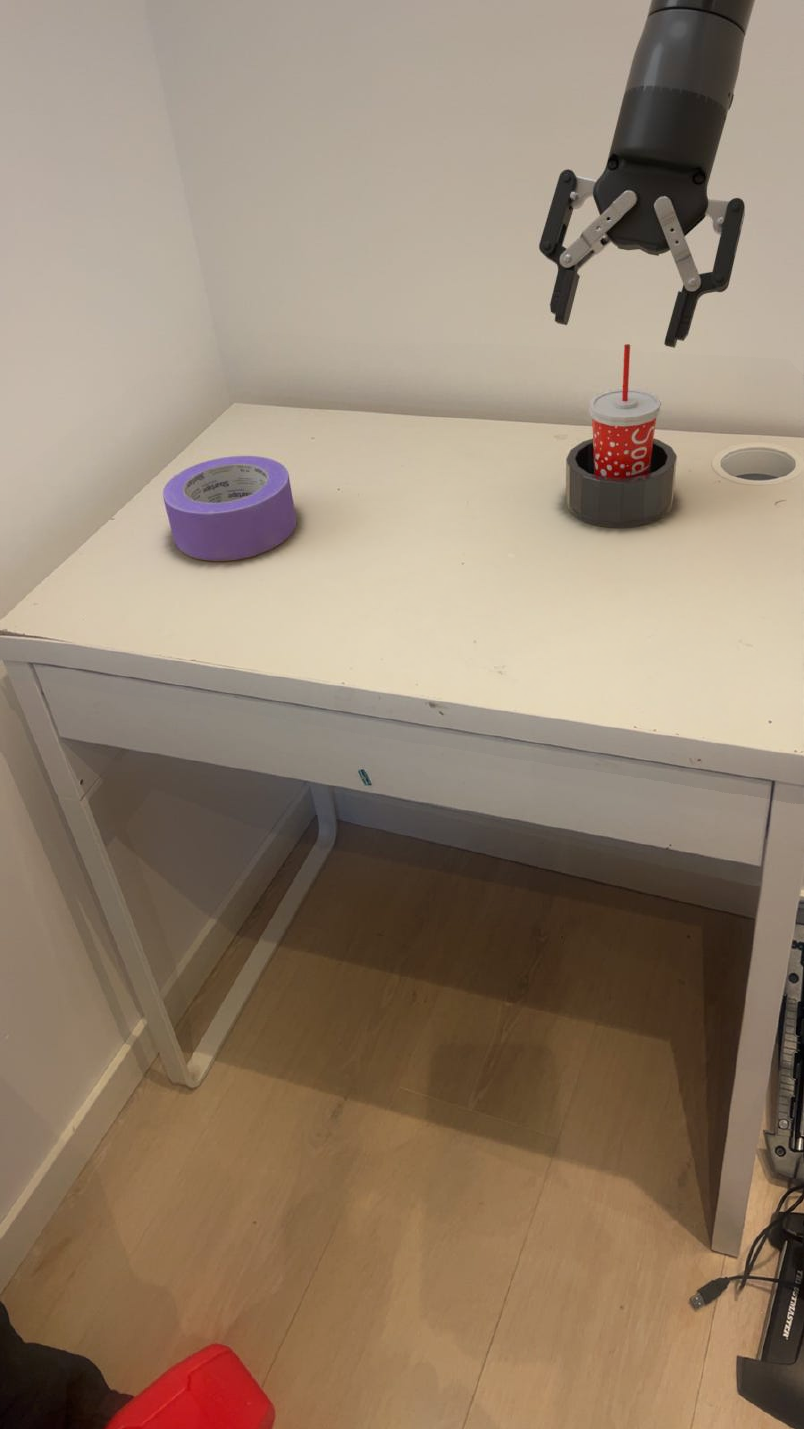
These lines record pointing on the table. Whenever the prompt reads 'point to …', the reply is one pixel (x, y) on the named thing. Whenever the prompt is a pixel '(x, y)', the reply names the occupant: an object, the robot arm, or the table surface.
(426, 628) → the table surface
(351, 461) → the table surface
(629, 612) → the table surface
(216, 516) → the tape roll
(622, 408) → the beverage cup
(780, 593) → the table surface
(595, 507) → the socket
